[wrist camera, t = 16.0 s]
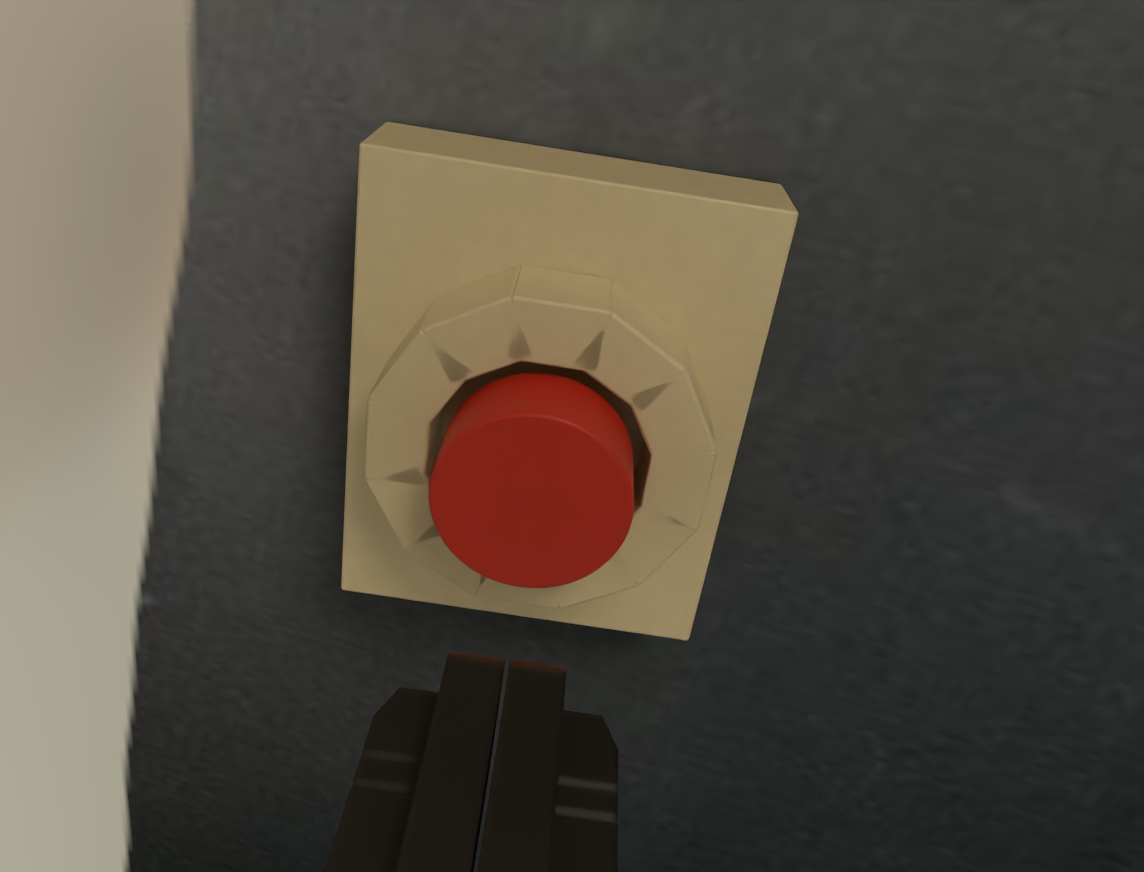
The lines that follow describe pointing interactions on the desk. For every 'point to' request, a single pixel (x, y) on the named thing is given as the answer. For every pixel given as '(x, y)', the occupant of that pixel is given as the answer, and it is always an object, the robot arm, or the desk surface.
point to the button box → (553, 350)
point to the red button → (534, 481)
